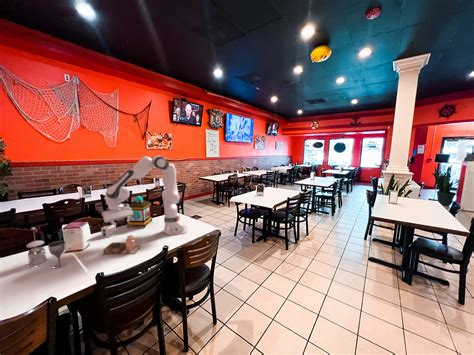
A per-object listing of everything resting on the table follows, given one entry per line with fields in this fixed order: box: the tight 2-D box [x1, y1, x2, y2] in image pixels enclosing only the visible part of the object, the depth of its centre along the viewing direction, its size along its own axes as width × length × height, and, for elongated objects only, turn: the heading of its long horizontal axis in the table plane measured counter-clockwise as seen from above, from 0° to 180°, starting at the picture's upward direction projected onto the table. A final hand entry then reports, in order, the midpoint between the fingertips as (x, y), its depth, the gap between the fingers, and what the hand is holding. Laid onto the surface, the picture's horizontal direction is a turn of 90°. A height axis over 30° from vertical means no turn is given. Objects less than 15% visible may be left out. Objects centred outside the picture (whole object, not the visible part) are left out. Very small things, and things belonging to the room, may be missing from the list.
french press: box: [26, 227, 49, 268], centre depth 124 cm, size 10×12×25 cm
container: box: [100, 222, 117, 238], centre depth 167 cm, size 8×8×13 cm
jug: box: [124, 234, 136, 252], centre depth 141 cm, size 8×6×10 cm
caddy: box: [102, 241, 142, 256], centre depth 142 cm, size 22×12×4 cm, turn 94°
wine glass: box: [47, 240, 67, 269], centre depth 123 cm, size 8×8×15 cm
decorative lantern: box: [126, 195, 153, 229], centre depth 189 cm, size 20×20×30 cm
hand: (122, 223), depth 147 cm, fingers open, 8 cm apart
